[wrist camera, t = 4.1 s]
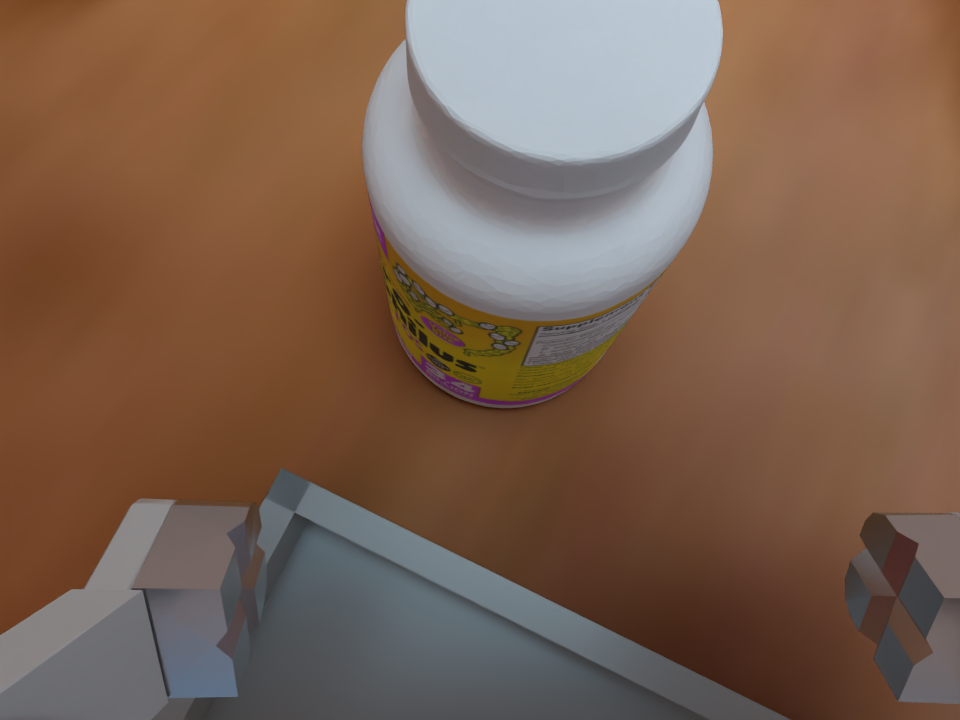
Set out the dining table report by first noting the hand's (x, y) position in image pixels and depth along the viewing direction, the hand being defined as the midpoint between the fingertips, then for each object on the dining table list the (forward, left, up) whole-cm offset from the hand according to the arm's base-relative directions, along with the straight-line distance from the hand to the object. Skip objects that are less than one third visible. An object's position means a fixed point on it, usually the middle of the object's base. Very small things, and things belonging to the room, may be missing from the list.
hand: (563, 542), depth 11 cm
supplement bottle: (-3, +7, -12) cm, 14 cm away
